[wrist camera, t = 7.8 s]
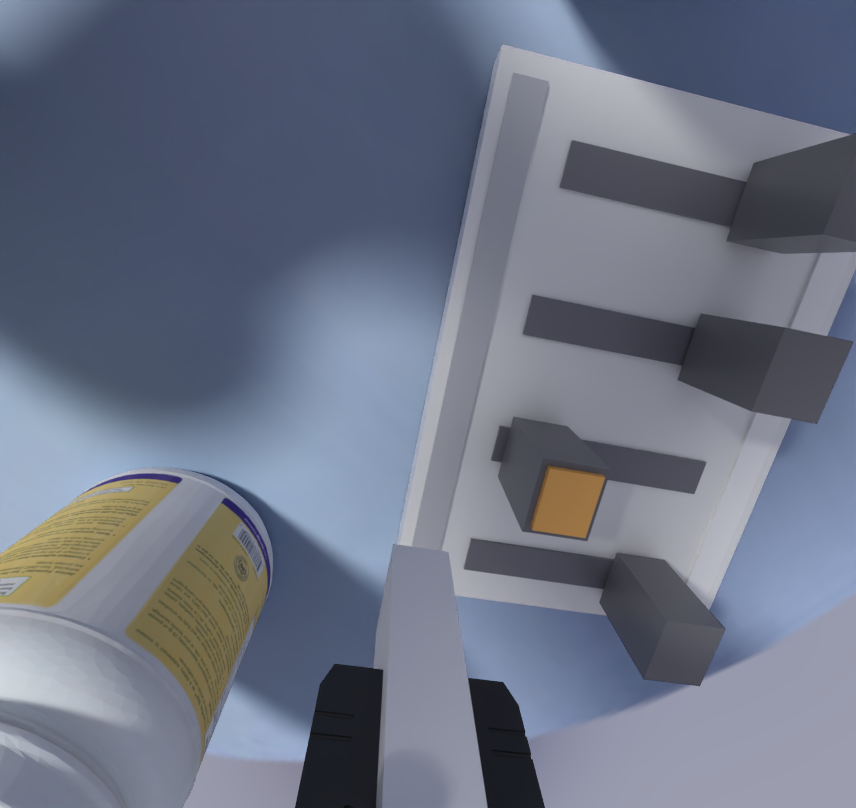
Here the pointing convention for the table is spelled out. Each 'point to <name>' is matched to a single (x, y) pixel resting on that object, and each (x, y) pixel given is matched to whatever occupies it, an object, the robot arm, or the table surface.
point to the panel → (604, 328)
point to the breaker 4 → (764, 366)
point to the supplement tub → (125, 639)
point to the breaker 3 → (801, 201)
